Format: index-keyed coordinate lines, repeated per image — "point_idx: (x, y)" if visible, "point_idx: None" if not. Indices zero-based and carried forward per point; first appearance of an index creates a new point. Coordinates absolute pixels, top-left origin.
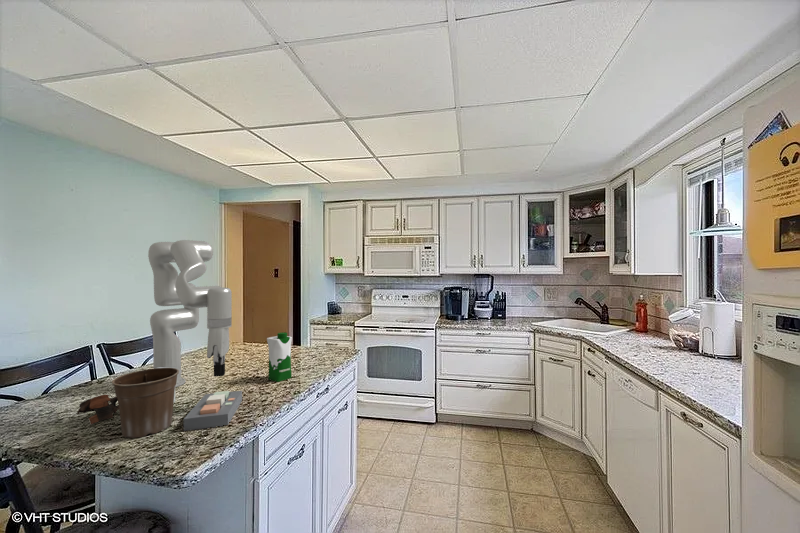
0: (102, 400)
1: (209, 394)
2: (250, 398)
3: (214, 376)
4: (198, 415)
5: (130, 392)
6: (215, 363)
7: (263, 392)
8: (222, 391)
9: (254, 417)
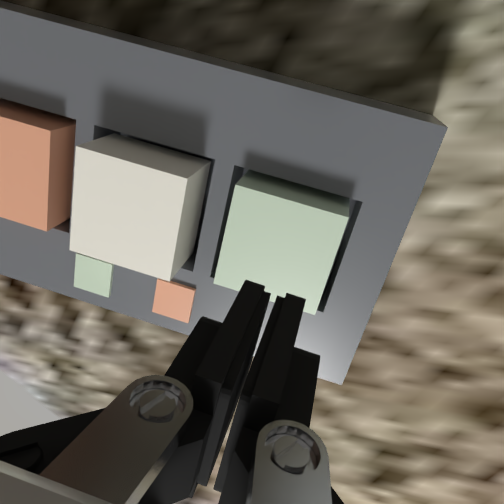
0: None
1: (409, 161)
2: (347, 385)
3: (247, 282)
4: None
5: None
6: (81, 420)
7: (415, 463)
8: (328, 270)
9: (46, 344)
